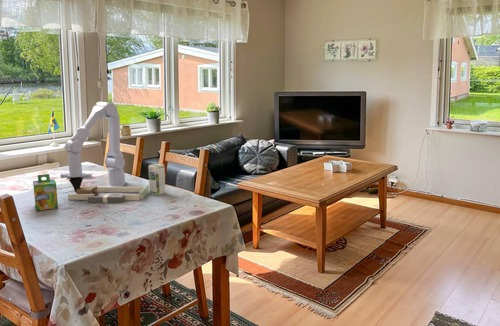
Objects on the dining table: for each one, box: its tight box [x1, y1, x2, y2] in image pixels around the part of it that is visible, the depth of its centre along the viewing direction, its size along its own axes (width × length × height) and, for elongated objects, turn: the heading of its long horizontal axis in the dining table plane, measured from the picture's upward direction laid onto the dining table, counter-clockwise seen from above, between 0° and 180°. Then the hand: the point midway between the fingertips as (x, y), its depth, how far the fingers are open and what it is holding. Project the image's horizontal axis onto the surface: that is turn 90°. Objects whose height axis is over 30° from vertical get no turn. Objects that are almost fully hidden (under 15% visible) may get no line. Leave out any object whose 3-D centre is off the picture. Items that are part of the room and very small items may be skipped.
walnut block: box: [76, 185, 99, 197], centre depth 215 cm, size 7×7×4 cm
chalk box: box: [32, 173, 59, 212], centre depth 197 cm, size 9×9×15 cm
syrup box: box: [148, 163, 166, 196], centre depth 217 cm, size 6×6×14 cm
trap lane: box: [67, 184, 150, 204], centre depth 213 cm, size 18×35×4 cm, turn 89°
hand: (77, 192), depth 215 cm, fingers closed
